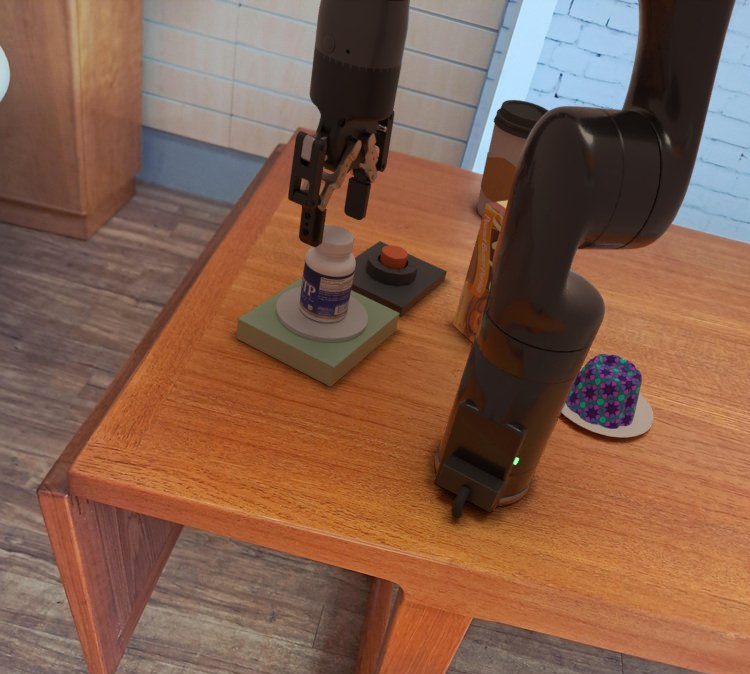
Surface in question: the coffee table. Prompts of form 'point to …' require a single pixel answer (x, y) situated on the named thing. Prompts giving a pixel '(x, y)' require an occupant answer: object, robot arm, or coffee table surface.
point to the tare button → (393, 257)
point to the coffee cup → (506, 149)
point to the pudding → (609, 398)
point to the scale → (316, 333)
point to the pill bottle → (328, 276)
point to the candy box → (479, 271)
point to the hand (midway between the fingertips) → (333, 229)
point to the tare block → (394, 280)
